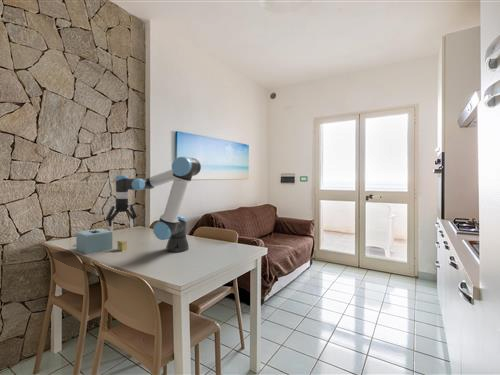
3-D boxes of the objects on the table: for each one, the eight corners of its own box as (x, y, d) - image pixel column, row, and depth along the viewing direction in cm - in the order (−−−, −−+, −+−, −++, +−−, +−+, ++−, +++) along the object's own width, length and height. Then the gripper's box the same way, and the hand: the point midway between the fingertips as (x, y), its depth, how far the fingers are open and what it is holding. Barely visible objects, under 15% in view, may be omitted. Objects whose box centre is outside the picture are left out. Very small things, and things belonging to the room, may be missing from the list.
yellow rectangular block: (126, 250, 175) (126, 241, 175) (122, 251, 173) (122, 242, 173) (121, 248, 179) (121, 240, 179) (117, 249, 177) (117, 240, 176)
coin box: (112, 248, 178) (112, 231, 177) (86, 254, 165) (86, 235, 164) (101, 244, 187) (101, 228, 187) (76, 249, 174) (76, 231, 174)
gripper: (136, 196, 187) (136, 226, 188) (99, 198, 167) (99, 231, 168) (142, 197, 182) (141, 227, 183) (105, 199, 162) (105, 233, 163)
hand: (121, 229), depth 176 cm, fingers open, 13 cm apart
